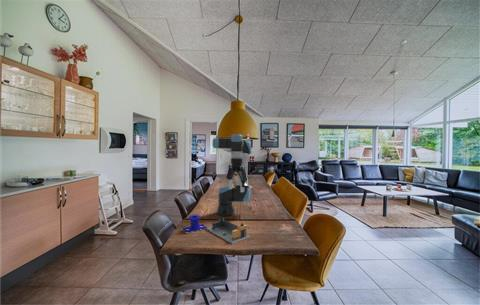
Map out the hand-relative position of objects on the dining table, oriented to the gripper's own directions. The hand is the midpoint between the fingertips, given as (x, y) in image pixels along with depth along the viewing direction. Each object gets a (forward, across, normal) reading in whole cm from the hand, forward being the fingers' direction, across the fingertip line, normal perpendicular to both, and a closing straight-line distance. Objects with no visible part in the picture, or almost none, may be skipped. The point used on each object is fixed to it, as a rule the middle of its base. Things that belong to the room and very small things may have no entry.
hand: (236, 190), depth 141 cm
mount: (+28, -22, -19) cm, 41 cm away
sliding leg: (+26, +9, -5) cm, 28 cm away
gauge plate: (+28, -2, -6) cm, 29 cm away
